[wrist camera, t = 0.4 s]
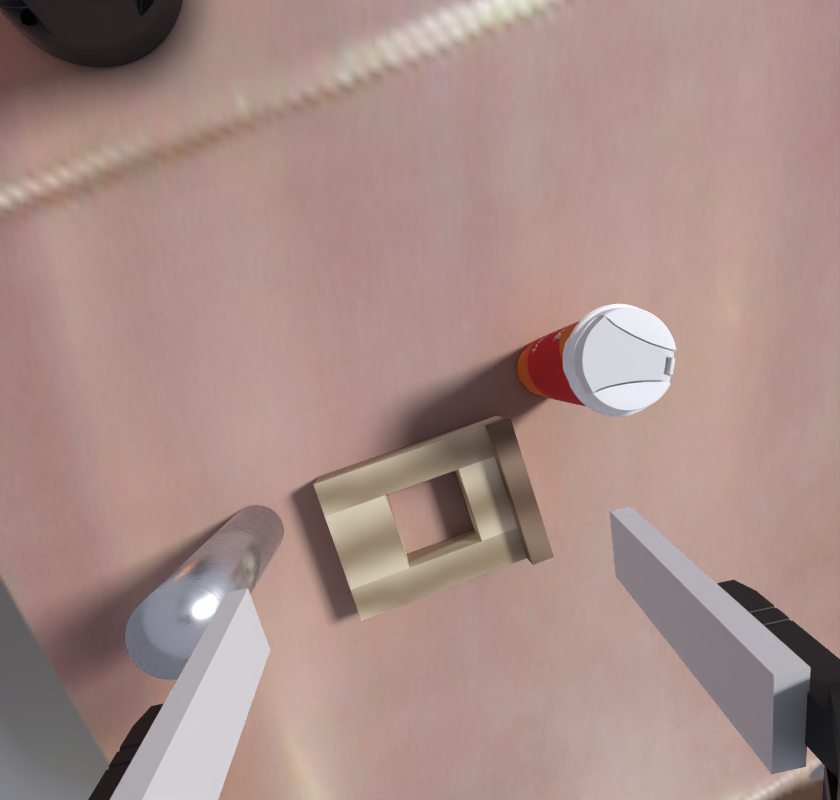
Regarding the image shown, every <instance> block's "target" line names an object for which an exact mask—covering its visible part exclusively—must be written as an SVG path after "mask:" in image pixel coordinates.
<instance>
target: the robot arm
mask: <svg viewBox="0 0 840 800" xmlns="http://www.w3.org/2000/svg"><path fill="white" fill-rule="evenodd" d="M182 1H183V0H0V11H1V12H2V13H3V14H4V15H5V16H6V17H7V18H8V19H9V20H10V21H11V22H12V23H13V24H14V25H15V26H16V27H17V28H18V29H19V30H20V31H21V32H22V33H23V34H24V35H25V36H26V37H27V38H28V39H30V40H31V41H32V42H33V43H34V44H36V45H37V46H39V47H40V48H42V49H43V50H45V51H46V52H48V53H50V54H52V55H54V56H56V57H58V58H61V59H63V60H66V61H69V62H73V63H77V64H81V65H87V66H112V65H118V64H123V63H127V62H130V61H132V60H135V59H137V58H139V57H141V56H143V55H145V54H147V53H148V52H150V51H151V50H153V49H154V48H155V47H156V46H158V45H159V44H160V43H161V42H162V41H163V40H164V38H165V37H166V36H167V35H168V33H169V32H170V31H171V29H172V27H173V26H174V24H175V22H176V20H177V18H178V15H179V12H180V9H181V5H182ZM610 519H611V530H612V541H613V551H614V562H615V573H616V577H617V578H618V580H619V581H620V582H621V583H622V585H623V586H624V587H625V588H626V590H627V591H628V592H629V593H630V595H631V596H632V597H633V599H634V600H635V601H636V602H637V604H638V605H639V606H640V607H641V609H642V610H643V611H644V613H645V614H646V615H647V616H648V618H649V619H650V620H651V621H652V623H653V624H654V625H655V626H656V628H657V629H658V630H659V632H660V633H661V634H662V635H663V637H664V638H665V639H666V640H667V642H668V643H669V644H670V645H671V647H672V648H673V649H674V651H675V652H676V653H677V654H678V656H679V657H680V658H681V659H682V661H683V662H684V663H685V665H686V666H687V667H688V668H689V670H690V671H691V672H692V673H693V675H694V676H695V677H696V678H697V680H698V681H699V682H700V684H701V685H702V686H703V687H704V689H705V690H706V691H707V692H708V694H709V695H710V696H711V697H712V699H713V700H714V701H715V703H716V704H717V705H718V706H719V708H720V709H721V710H722V711H723V713H724V714H725V715H726V717H727V718H728V719H729V720H730V722H731V723H732V724H733V725H734V727H735V728H736V729H737V730H738V732H739V733H740V734H741V736H742V737H743V738H744V739H745V741H746V742H747V743H748V744H749V746H750V747H751V748H752V749H753V751H754V752H755V753H756V755H757V756H758V757H759V758H760V760H761V761H762V762H763V763H764V765H765V766H766V767H767V769H768V770H769V771H770V772H771V774H774V773H779V772H783V771H788V770H792V769H797V768H802V767H806V752H807V747H808V748H809V749H810V750H811V751H812V752H813V753H814V754H815V755H816V756H817V758H818V759H819V760H820V761H821V762H822V763H823V764H824V765H825V768H824V782H823V798H822V800H840V659H839V658H838V657H836V656H835V655H834V654H833V653H831V652H830V651H829V650H828V649H827V648H825V647H824V646H823V645H822V644H820V643H819V642H818V641H817V640H816V639H814V638H813V637H812V636H811V635H809V634H808V633H807V632H806V631H804V630H803V629H802V628H801V627H800V626H798V625H797V624H796V623H795V622H793V621H790V620H789V617H787V616H786V615H785V614H784V613H782V612H781V611H780V610H779V609H778V608H775V607H774V605H773V604H771V603H770V602H769V601H768V600H767V599H765V598H764V597H763V596H762V595H760V594H759V593H758V592H757V591H755V590H753V589H751V588H749V587H747V586H745V585H743V584H741V583H739V582H737V581H735V580H731V581H726V582H721V583H716V582H715V581H713V580H712V579H711V578H710V577H709V576H708V575H707V574H706V573H704V572H703V571H702V570H701V569H700V568H699V567H698V566H697V565H696V564H694V563H693V562H692V561H691V560H690V559H689V558H688V557H687V556H685V555H684V554H683V553H682V552H681V551H680V550H679V549H678V548H676V547H675V546H674V545H673V544H672V543H671V542H670V541H669V540H668V539H666V538H665V537H664V536H663V535H662V534H661V533H660V532H659V531H657V530H656V529H655V528H654V527H653V526H652V525H651V524H650V523H649V522H647V521H646V520H645V519H644V518H643V517H642V516H641V515H640V514H638V513H637V512H636V511H635V510H634V509H633V508H632V507H626V508H621V509H617V510H612V511H610ZM269 652H270V648H269V646H268V643H267V640H266V637H265V634H264V632H263V629H262V626H261V623H260V621H259V618H258V615H257V612H256V609H255V607H254V604H253V601H252V598H251V595H250V593H249V590H248V588H246V589H241V590H236V591H231V592H227V593H226V594H225V596H224V598H223V600H222V601H221V603H220V605H219V607H218V609H217V610H216V612H215V614H214V616H213V617H212V619H211V621H210V623H209V625H208V626H207V628H206V630H205V632H204V633H203V635H202V637H201V639H200V641H199V642H198V644H197V646H196V648H195V649H194V651H193V653H192V655H191V657H190V658H189V660H188V662H187V664H186V665H185V667H184V669H183V671H182V672H181V674H180V676H179V678H178V680H177V681H176V683H175V685H174V687H173V688H172V690H171V692H170V694H169V696H168V697H167V699H166V701H165V703H164V704H160V705H155V706H151V707H150V708H149V709H148V710H147V711H146V713H145V714H144V715H143V716H142V717H141V718H140V719H139V720H138V721H137V722H136V723H135V724H134V726H133V727H132V728H131V730H130V732H129V733H128V735H127V737H126V738H125V740H124V742H123V743H122V745H121V747H120V751H119V752H117V753H116V755H115V757H114V758H113V760H112V761H111V763H110V765H109V769H108V770H106V771H105V773H104V775H103V776H102V778H101V780H100V781H99V783H98V785H97V786H96V788H95V790H94V791H93V793H92V794H91V796H90V798H89V799H88V800H218V798H219V795H220V793H221V790H222V787H223V784H224V781H225V778H226V775H227V772H228V770H229V767H230V764H231V761H232V758H233V755H234V752H235V750H236V747H237V744H238V741H239V738H240V735H241V732H242V729H243V727H244V724H245V721H246V718H247V715H248V712H249V709H250V707H251V704H252V701H253V698H254V695H255V692H256V689H257V687H258V684H259V681H260V678H261V675H262V672H263V669H264V666H265V664H266V661H267V658H268V655H269Z"/></svg>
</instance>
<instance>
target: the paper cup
mask: <svg viewBox="0 0 840 800" xmlns="http://www.w3.org/2000/svg"><path fill="white" fill-rule="evenodd" d="M673 351H676V347H675V343H674V340H673V337H672V335H671V333H670V331H669V330H668V328H667V327H666V326H665V324H664V323H663V322H662V321H661V320H660V319H658V318H657V317H656V316H654V315H653V314H651V313H649V312H647V311H645V310H642V309H639V308H637V307H635V306H631V305H626V304H611V305H607V306H603V307H600V308H598V309H596V310H593V311H592V312H590V313H589V314H587V315H586V316H585V317H584V318H583V319H582V320H581V321H578V322H576V323H574V324H571V325H569V326H567V327H564V328H562V329H560V330H557V331H555V332H553V333H551V334H548V335H546V336H544V337H542V338H539V339H537V340H535V341H533V342H532V343H530V344H529V345H527V346H526V347H525V348H524V349H523V351H522V352H521V354H520V356H519V359H518V363H517V373H518V377H519V379H520V381H521V383H522V384H523V386H524V387H525V388H526V389H527V390H529V391H530V392H532V393H534V394H537V395H540V396H543V397H547V398H551V399H555V400H560V401H564V402H569V403H573V404H578V405H582V406H587V407H588V408H590V409H592V410H593V411H595V412H598V413H600V414H603V415H608V416H618V417H619V416H627V415H631V414H634V413H637V412H639V411H641V410H643V409H644V408H646V407H647V406H649V405H651V404H653V403H654V402H655V401H657V400H658V399H659V398H660V397H661V396H662V395H663V394H664V393H665V392H666V390H667V389H668V387H669V386H670V384H671V383H670V382H668V381H670V376H671V375H673V370H674V363H675V358H673V356H674V352H673Z"/></svg>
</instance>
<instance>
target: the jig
mask: <svg viewBox="0 0 840 800" xmlns="http://www.w3.org/2000/svg"><path fill="white" fill-rule="evenodd" d="M452 471H455V472H456V475H457V478H458V481H459V484H460V487H461V490H462V494H463V497H464V500H465V503H466V506H467V509H468V512H469V515H470V518H471V521H472V524H473V527H474V530H472V531H469V532H466V533H464V534H461V535H458V536H455V537H453V538H450V539H447V540H445V541H442V542H439V543H436V544H434V545H431V546H428V547H426V548H423V549H420V550H417V551H415V552H412V553H409V554H407V553H406V551H405V548H404V545H403V542H402V539H401V536H400V533H399V530H398V527H397V524H396V521H395V518H394V515H393V512H392V509H391V506H390V503H389V500H388V498H387V494H390V493H393V492H396V491H398V490H401V489H404V488H407V487H410V486H413V485H415V484H418V483H421V482H424V481H427V480H429V479H432V478H435V477H438V476H441V475H444V474H446V473H449V472H452ZM313 485H314V488H315V490H316V493H317V496H318V499H319V502H320V505H321V507H322V510H323V513H324V516H325V519H326V522H327V524H328V527H329V530H330V533H331V536H332V539H333V541H334V544H335V547H336V550H337V553H338V556H339V558H340V561H341V564H342V567H343V570H344V573H345V576H346V578H347V581H348V584H349V587H350V590H351V593H352V595H353V598H354V601H355V604H356V607H357V610H358V612H359V615H360V618H361V621H362V620H365V619H367V618H370V617H373V616H375V615H378V614H380V613H383V612H386V611H388V610H391V609H394V608H396V607H399V606H402V605H404V604H407V603H409V602H412V601H415V600H417V599H420V598H423V597H425V596H428V595H430V594H433V593H436V592H438V591H441V590H444V589H446V588H449V587H452V586H454V585H457V584H459V583H462V582H465V581H467V580H470V579H473V578H475V577H478V576H480V575H483V574H486V573H488V572H491V571H494V570H496V569H499V568H502V567H504V566H507V565H509V564H512V563H515V562H517V561H520V560H523V559H525V558H528V560H529V561H530V562H531V563H532V564H533V565H534V564H537V563H539V562H542V561H544V560H547V559H550V558H552V557H554V556H553V553H552V550H551V547H550V544H549V540H548V537H547V534H546V531H545V528H544V524H543V521H542V518H541V515H540V512H539V508H538V505H537V502H536V499H535V496H534V492H533V489H532V486H531V483H530V480H529V477H528V473H527V470H526V467H525V464H524V461H523V457H522V454H521V451H520V448H519V445H518V441H517V438H516V435H515V432H514V429H513V425H512V422H511V420H510V419H507V418H503V417H499V416H493V417H490V418H487V419H485V420H482V421H479V422H476V423H473V424H470V425H467V426H464V427H461V428H458V429H456V430H453V431H450V432H447V433H444V434H441V435H438V436H435V437H432V438H429V439H426V440H424V441H421V442H418V443H415V444H412V445H409V446H406V447H403V448H400V449H397V450H395V451H392V452H389V453H386V454H383V455H380V456H377V457H374V458H371V459H368V460H366V461H363V462H360V463H357V464H354V465H351V466H348V467H345V468H342V469H339V470H337V471H334V472H331V473H328V474H325V475H322V476H319V477H318V478H317V479H316V481H315V483H314V484H313Z"/></svg>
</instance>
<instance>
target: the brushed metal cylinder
mask: <svg viewBox="0 0 840 800" xmlns="http://www.w3.org/2000/svg"><path fill="white" fill-rule="evenodd" d="M283 534H284V529H283V524H282V521H281V519H280V517H279V516H278V515H277V514H276V513H275V512H274V511H273V510H271V509H269V508H267V507H264V506H259V505H254V506H249V507H246V508H243V509H242V510H240V511H239V512H237V513H236V514H235V515H234V516H233V517H232V518H231V519H230V520H229V521H228V522H227V523H226V524H225V525H223V526H222V527H221V528H220V529H219V530H218V531H217V532H216V533H215V534H214V535H213V536H212V537H211V538H210V539H209V540H208V541H206V542H205V543H204V544H203V545H202V546H201V547H200V548H199V549H198V550H197V551H196V552H195V553H194V554H193V555H192V556H190V557H189V558H188V559H187V560H186V561H185V562H184V563H183V564H182V565H181V566H180V567H179V568H178V569H177V570H176V571H174V572H173V573H172V574H171V575H170V576H169V577H168V578H167V579H166V580H165V581H164V582H163V583H162V584H161V585H160V586H159V587H157V588H156V589H155V590H154V591H153V592H152V593H151V594H150V595H149V596H148V597H147V598H146V599H145V600H144V601H143V602H141V603H140V604H139V605H138V606H137V607H136V609H135V610H134V611H133V613H132V614H131V616H130V618H129V620H128V622H127V626H126V630H125V643H126V648H127V651H128V653H129V655H130V657H131V659H132V660H133V662H134V663H135V664H136V665H137V666H138V667H139V668H140V669H141V670H143V671H144V672H146V673H147V674H150V675H152V676H154V677H158V678H162V679H178V678H179V676H180V674H181V672H182V671H183V669H184V667H185V665H186V664H187V662H188V660H189V658H190V657H191V655H192V653H193V651H194V649H195V648H196V646H197V644H198V642H199V641H200V639H201V637H202V635H203V633H204V632H205V630H206V628H207V626H208V625H209V623H210V621H211V619H212V617H213V616H214V614H215V612H216V610H217V609H218V607H219V605H220V603H221V601H222V600H223V598H224V596H225V594H226V593H227V592H231V591H236V590H241V589H246V588H248V590H249V593H250V595H251V593H252V591H253V589H254V588H255V586H256V584H257V583H258V581H259V579H260V578H261V576H262V574H263V572H264V571H265V569H266V567H267V566H268V564H269V562H270V561H271V559H272V557H273V555H274V554H275V552H276V550H277V549H278V547H279V545H280V544H281V541H282V539H283Z"/></svg>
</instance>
